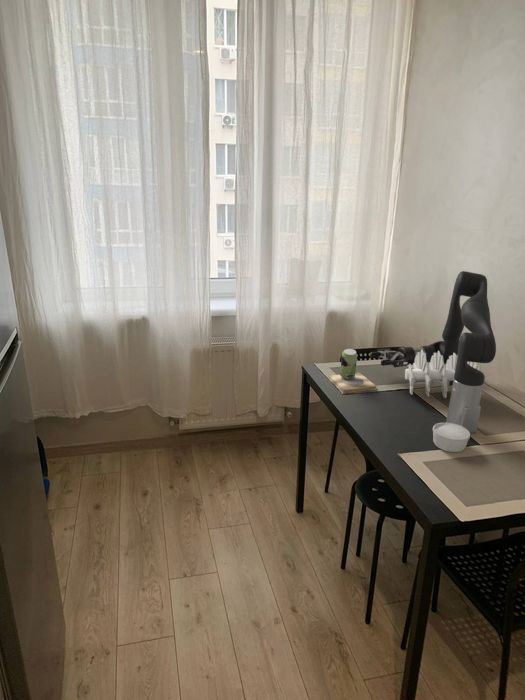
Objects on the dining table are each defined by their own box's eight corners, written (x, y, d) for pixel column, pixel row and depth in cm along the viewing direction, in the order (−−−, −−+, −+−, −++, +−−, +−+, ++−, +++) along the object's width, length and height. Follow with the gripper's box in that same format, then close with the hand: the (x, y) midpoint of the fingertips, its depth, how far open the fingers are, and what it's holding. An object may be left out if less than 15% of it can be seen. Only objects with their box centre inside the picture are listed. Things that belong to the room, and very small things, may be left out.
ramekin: (438, 432, 169) (440, 418, 167) (472, 444, 162) (475, 430, 161) (424, 445, 161) (427, 431, 159) (460, 458, 154) (463, 443, 152)
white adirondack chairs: (401, 397, 203) (467, 399, 200) (409, 397, 185) (480, 399, 182) (402, 351, 205) (467, 353, 202) (409, 347, 187) (480, 348, 184)
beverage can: (352, 374, 208) (355, 346, 204) (356, 381, 201) (359, 353, 197) (337, 374, 208) (340, 346, 204) (341, 381, 201) (343, 353, 197)
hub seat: (375, 389, 199) (376, 385, 199) (343, 393, 195) (343, 388, 195) (359, 375, 212) (359, 371, 211) (328, 378, 208) (328, 374, 207)
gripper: (402, 341, 213) (368, 344, 208) (422, 353, 200) (386, 356, 195) (400, 358, 215) (366, 361, 210) (419, 370, 202) (383, 374, 198)
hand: (375, 359), depth 203 cm, fingers open, 8 cm apart
